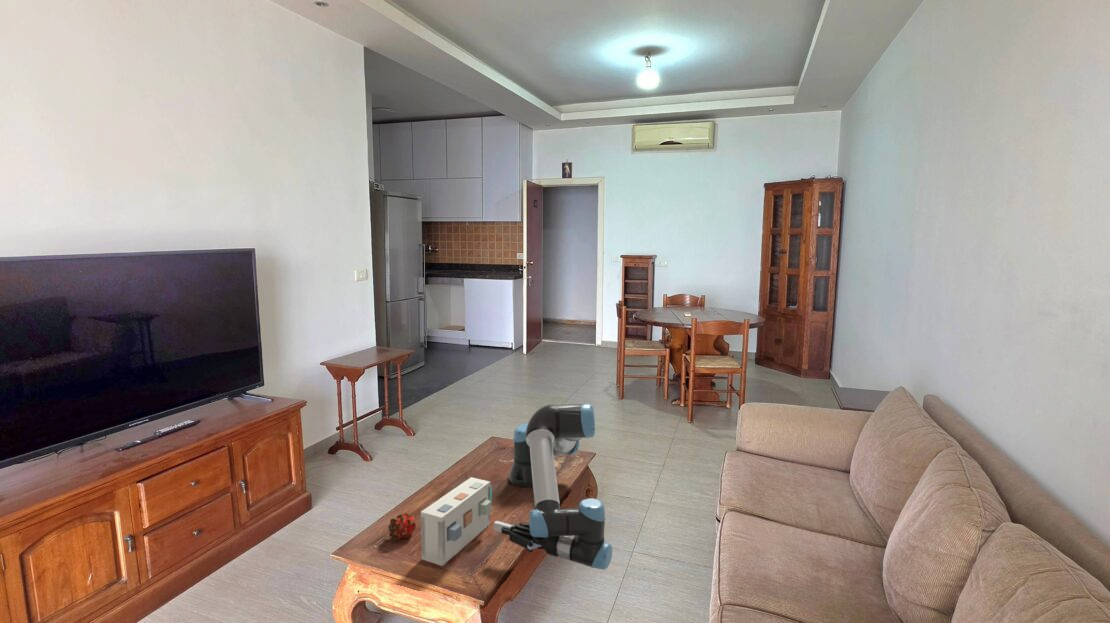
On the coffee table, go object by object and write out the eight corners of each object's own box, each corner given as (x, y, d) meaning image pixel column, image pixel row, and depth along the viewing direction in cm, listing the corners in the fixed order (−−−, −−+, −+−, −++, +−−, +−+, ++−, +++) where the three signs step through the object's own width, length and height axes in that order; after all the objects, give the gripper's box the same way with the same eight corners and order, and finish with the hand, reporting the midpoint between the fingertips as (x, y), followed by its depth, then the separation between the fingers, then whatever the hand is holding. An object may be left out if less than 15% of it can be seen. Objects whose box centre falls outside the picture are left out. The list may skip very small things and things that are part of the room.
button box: (471, 519, 199) (471, 476, 197) (490, 524, 196) (490, 480, 194) (421, 559, 174) (420, 510, 172) (442, 566, 171) (441, 516, 169)
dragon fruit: (389, 550, 182) (410, 536, 193) (408, 538, 180) (428, 526, 191) (378, 526, 183) (399, 514, 195) (396, 515, 181) (416, 503, 193)
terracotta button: (459, 517, 186) (459, 507, 185) (472, 521, 184) (472, 511, 183) (453, 522, 183) (453, 512, 182) (466, 526, 181) (466, 516, 180)
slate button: (448, 531, 177) (448, 521, 177) (461, 535, 175) (461, 525, 175) (441, 537, 174) (441, 526, 173) (454, 541, 172) (454, 530, 171)
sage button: (479, 507, 193) (479, 497, 193) (491, 510, 191) (491, 501, 191) (473, 512, 190) (473, 502, 190) (485, 515, 188) (485, 505, 187)
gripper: (551, 566, 162) (483, 546, 172) (569, 545, 174) (505, 527, 184) (552, 543, 161) (483, 523, 171) (570, 522, 173) (505, 505, 183)
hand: (495, 525), depth 177 cm, fingers closed
